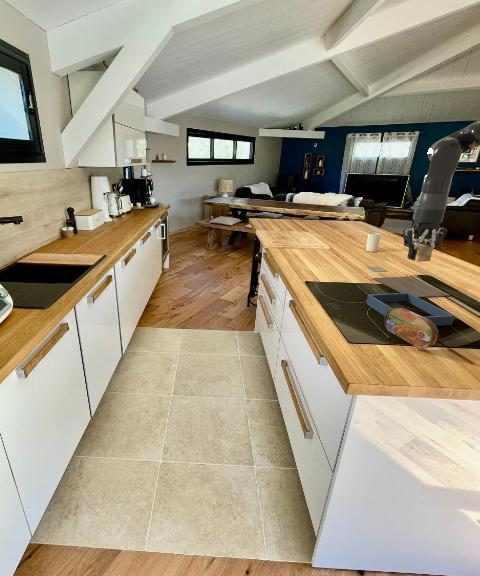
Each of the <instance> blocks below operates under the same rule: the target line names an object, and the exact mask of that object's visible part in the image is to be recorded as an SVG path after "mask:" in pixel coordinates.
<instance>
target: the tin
mask: <svg viewBox="0 0 480 576" xmlns="http://www.w3.org/2000/svg"><path fill="white" fill-rule="evenodd" d="M391 308H392V307H391ZM425 317H426V316H422V315H420V314H418V313H415V312H414V311H411V310H410V309H407V308H403V307H393V308H392V309H390V310H389V311H388V312H387V313H386V315H385V316H384V326H385V328H386V330H387V332H389V333H391V334H393V335H395V336H397V337H398V338H400V339H402V340H404V341H405V342H407V343H408V344H410V345H411V346H413V347H415V348H416V349H417V350H419V349H420V350H422V349H427V348H431V347H434V346H435V345H436V343H437V342H438V339H439V329H438V326H436V325H435V324H434V323H433V322H432V321H431V320H429V319H427V318H425Z"/></svg>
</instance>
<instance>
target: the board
mask: <svg viewBox="0 0 480 576" xmlns="http://www.w3.org/2000/svg"><path fill="white" fill-rule="evenodd" d="M372 280H373V281H375V282H377V283H379V284H381V285H383V286H385V287H387V288H388V289H391V290H392V291H395V293H410V294H412V295H414V296H416V297H418V298H420V299H426V298H427V299H428V298H446V297H447V298H448V297H451V296H452V295H451V294H449V293H447V292H445V291H442V290H440V289H438V288H435V287H434V286H430V285H429V284H426V283H424V282H422V281H420V280H417V279H414V278H412V277H410V276H408V275H407V276H389V277H388V276H387V277H386V276H385V277H373V278H372Z"/></svg>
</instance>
